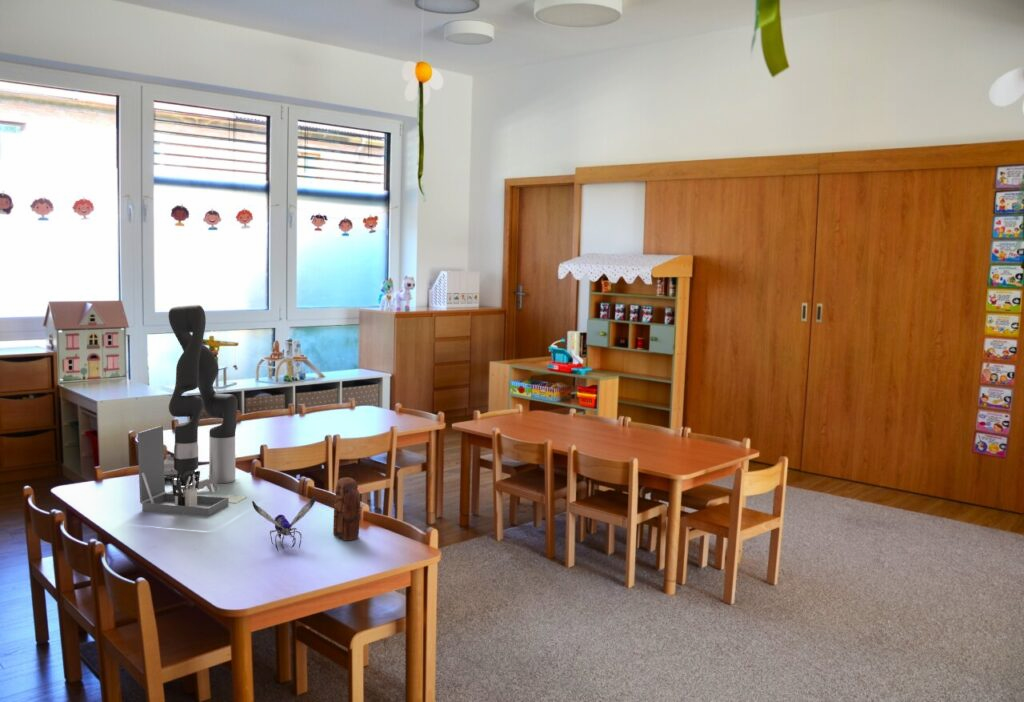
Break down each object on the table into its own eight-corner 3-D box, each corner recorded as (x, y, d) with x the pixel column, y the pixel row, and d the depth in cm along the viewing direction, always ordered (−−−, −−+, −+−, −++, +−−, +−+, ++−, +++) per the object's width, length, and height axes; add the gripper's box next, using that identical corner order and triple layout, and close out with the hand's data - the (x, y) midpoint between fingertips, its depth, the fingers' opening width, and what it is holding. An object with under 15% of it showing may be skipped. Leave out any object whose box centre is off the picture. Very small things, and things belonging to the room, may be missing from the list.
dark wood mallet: (327, 532, 254) (328, 475, 253) (346, 528, 258) (347, 473, 257) (344, 542, 245) (345, 484, 243) (363, 539, 249) (365, 481, 247)
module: (183, 505, 275) (183, 487, 275) (197, 506, 275) (197, 488, 274) (174, 509, 270) (174, 491, 270) (189, 510, 269) (189, 492, 269)
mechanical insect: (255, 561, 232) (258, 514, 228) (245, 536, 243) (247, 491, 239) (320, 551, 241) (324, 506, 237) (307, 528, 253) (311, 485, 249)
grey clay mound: (158, 482, 314) (162, 455, 316) (188, 484, 313) (192, 456, 315) (143, 481, 302) (147, 452, 304) (174, 482, 302) (178, 454, 304)
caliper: (216, 490, 297) (216, 473, 296) (217, 491, 296) (217, 474, 295) (156, 499, 284) (156, 480, 283) (157, 499, 283) (157, 481, 282)
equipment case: (160, 500, 281) (160, 425, 278) (228, 506, 277) (228, 430, 275) (137, 511, 268) (137, 432, 265) (208, 517, 264) (208, 437, 262)
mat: (225, 496, 289) (225, 494, 289) (247, 498, 288) (247, 496, 288) (214, 502, 281) (214, 500, 281) (236, 504, 280) (236, 502, 280)
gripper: (187, 449, 278) (187, 498, 280) (163, 458, 264) (163, 510, 266) (207, 451, 277) (207, 500, 279) (185, 460, 263) (184, 512, 265)
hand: (186, 504), depth 272 cm, fingers closed on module, 5 cm apart
